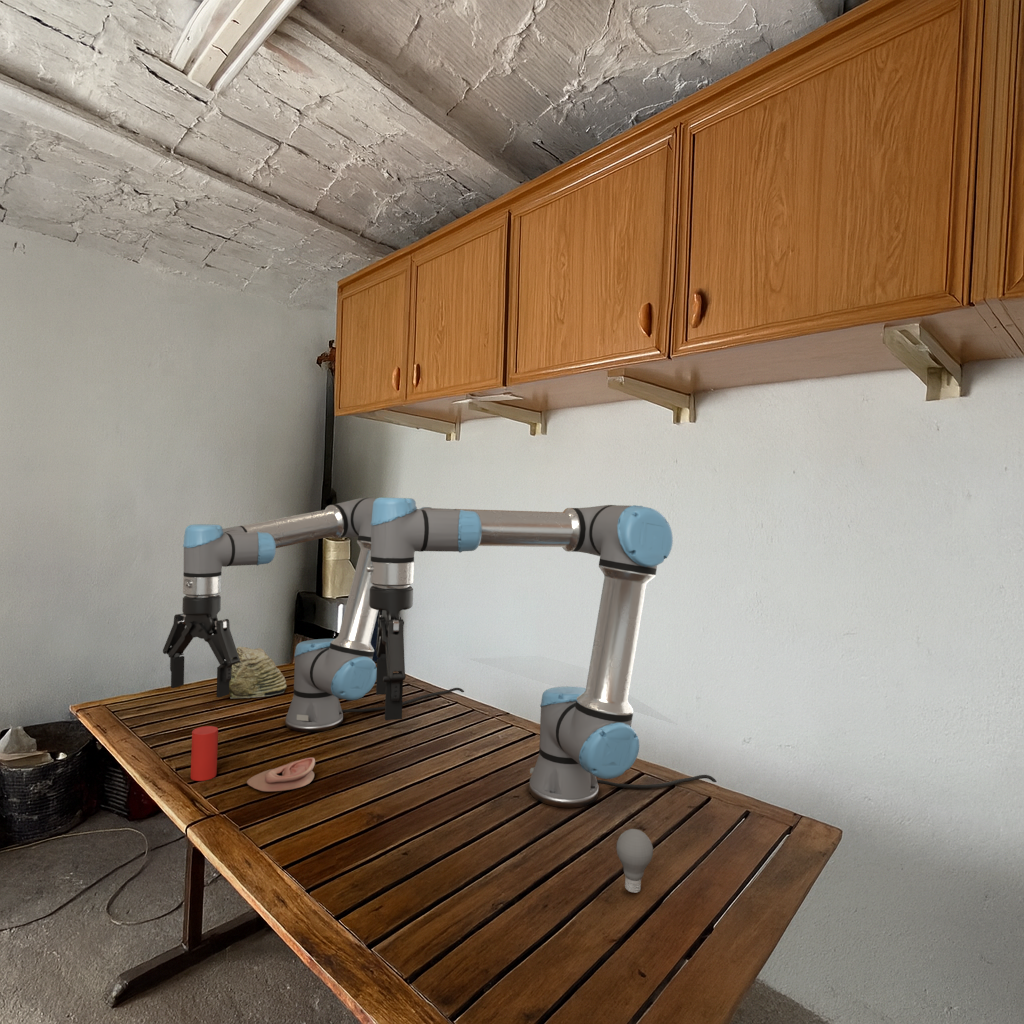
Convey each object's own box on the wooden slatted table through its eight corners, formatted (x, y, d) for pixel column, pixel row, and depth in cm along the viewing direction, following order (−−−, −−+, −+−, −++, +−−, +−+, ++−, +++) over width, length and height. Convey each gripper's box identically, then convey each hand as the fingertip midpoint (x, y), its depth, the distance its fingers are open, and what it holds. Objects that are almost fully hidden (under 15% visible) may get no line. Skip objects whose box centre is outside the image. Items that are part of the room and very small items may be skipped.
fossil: (218, 695, 195) (220, 647, 195) (278, 685, 208) (279, 640, 207) (228, 703, 189) (230, 653, 188) (289, 692, 201) (290, 645, 201)
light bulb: (610, 879, 108) (613, 822, 108) (644, 879, 109) (647, 822, 109) (619, 902, 102) (622, 840, 102) (655, 901, 103) (658, 840, 103)
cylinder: (195, 783, 137) (197, 736, 137) (187, 775, 141) (188, 729, 141) (220, 776, 141) (221, 730, 141) (211, 768, 145) (213, 724, 145)
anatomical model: (238, 769, 136) (269, 749, 147) (238, 787, 136) (269, 766, 147) (295, 777, 133) (322, 756, 144) (294, 796, 133) (321, 773, 144)
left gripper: (146, 591, 140) (144, 687, 140) (231, 603, 130) (228, 705, 131) (175, 587, 147) (173, 678, 147) (258, 598, 137) (256, 695, 138)
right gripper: (363, 576, 122) (360, 686, 122) (377, 597, 98) (373, 733, 98) (402, 576, 124) (399, 683, 124) (425, 596, 100) (421, 729, 101)
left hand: (199, 691), depth 139 cm, fingers open, 13 cm apart
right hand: (388, 705), depth 111 cm, fingers open, 13 cm apart
